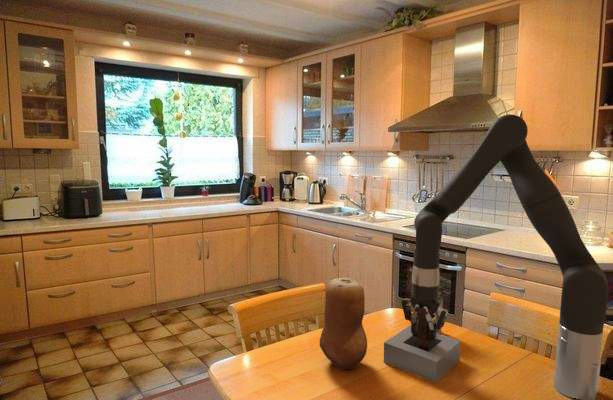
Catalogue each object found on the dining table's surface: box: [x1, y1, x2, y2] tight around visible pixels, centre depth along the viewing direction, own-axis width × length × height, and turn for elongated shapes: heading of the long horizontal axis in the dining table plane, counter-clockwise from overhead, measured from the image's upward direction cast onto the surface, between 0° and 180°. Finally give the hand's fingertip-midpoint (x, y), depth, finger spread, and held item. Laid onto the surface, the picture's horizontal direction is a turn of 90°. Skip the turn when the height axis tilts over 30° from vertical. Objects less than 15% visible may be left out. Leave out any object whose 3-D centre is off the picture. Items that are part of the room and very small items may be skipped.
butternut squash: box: [319, 277, 368, 370], centre depth 117 cm, size 14×13×25 cm
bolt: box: [414, 307, 432, 352], centre depth 119 cm, size 6×5×15 cm
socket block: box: [383, 324, 461, 384], centre depth 120 cm, size 16×16×6 cm
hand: (423, 337), depth 120 cm, fingers closed on bolt, 4 cm apart
